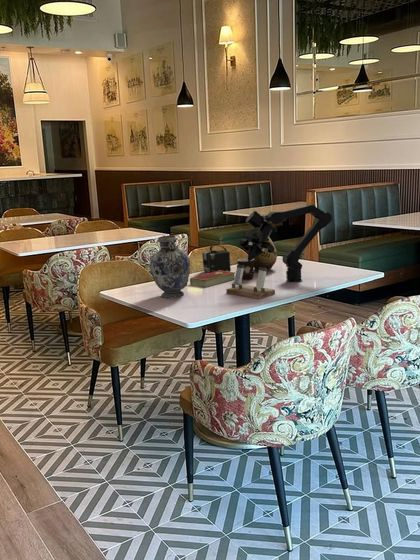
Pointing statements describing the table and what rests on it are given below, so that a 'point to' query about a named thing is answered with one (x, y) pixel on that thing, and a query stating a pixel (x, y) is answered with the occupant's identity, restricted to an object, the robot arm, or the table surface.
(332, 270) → the table surface
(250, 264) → the coffee mug
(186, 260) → the decorative vase
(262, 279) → the lever
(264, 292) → the switch box
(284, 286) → the table surface
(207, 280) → the hardcover book
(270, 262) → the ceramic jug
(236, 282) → the lever
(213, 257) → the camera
